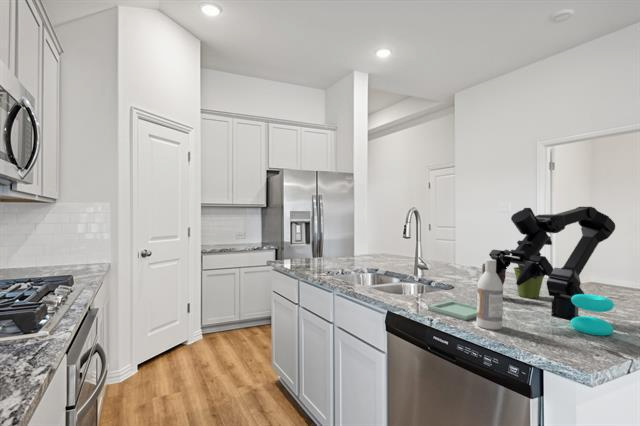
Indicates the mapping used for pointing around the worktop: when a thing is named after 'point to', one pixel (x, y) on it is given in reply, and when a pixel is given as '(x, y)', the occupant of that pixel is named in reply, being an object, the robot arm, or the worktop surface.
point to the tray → (455, 310)
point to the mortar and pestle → (502, 273)
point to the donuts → (592, 323)
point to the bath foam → (490, 298)
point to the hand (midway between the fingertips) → (504, 281)
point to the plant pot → (529, 286)
